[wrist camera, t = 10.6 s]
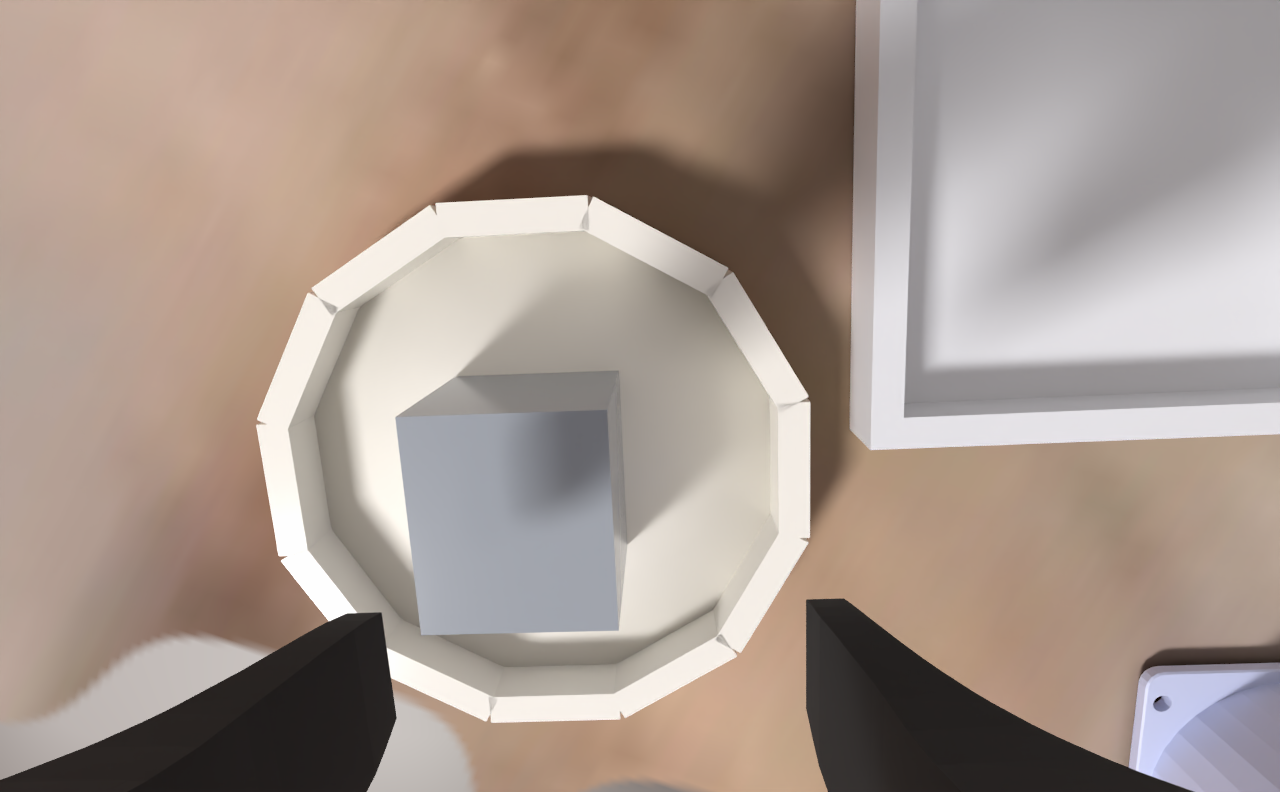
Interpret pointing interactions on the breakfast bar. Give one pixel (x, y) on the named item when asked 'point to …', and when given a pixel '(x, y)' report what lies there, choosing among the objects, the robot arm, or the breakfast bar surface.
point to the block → (516, 503)
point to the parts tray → (1065, 221)
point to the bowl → (545, 343)
